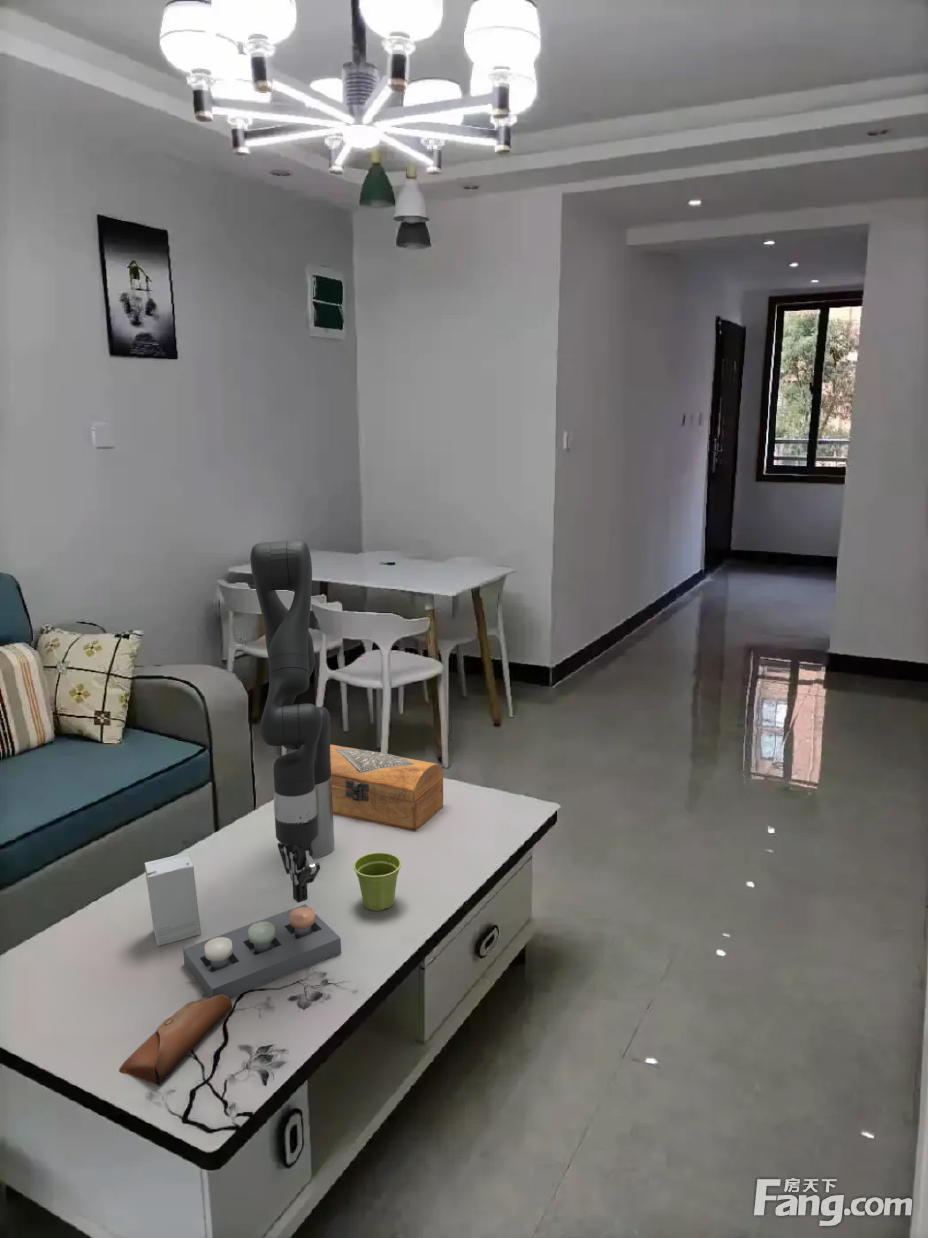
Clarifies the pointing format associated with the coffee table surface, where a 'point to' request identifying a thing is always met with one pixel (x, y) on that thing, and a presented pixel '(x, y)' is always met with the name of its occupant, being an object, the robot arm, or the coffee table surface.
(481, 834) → the coffee table surface
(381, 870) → the plant pot
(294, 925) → the terracotta button
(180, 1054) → the sunglasses case
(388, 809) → the wooden box
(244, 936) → the console
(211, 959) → the ivory button
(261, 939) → the sage button
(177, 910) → the skincare box
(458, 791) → the coffee table surface
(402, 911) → the coffee table surface
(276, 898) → the coffee table surface
